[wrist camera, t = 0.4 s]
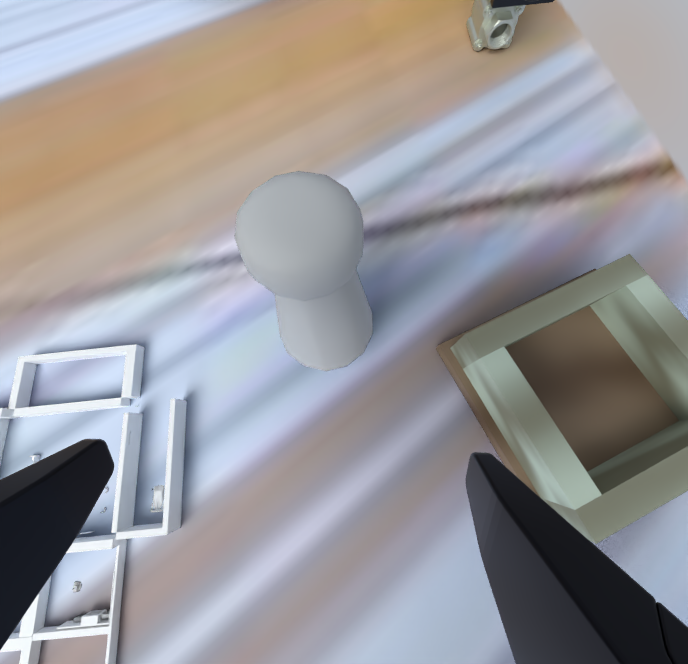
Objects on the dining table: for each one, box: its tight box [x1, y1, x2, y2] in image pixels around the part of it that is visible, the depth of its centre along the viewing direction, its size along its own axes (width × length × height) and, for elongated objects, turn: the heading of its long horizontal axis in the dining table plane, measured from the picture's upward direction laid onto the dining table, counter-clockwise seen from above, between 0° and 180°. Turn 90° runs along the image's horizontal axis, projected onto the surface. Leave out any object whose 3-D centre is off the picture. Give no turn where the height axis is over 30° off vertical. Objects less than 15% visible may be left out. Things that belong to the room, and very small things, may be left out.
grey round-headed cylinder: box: [235, 171, 373, 371], centre depth 16 cm, size 6×6×13 cm
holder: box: [436, 254, 688, 544], centre depth 19 cm, size 12×12×4 cm
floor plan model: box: [0, 344, 187, 664], centre depth 20 cm, size 19×25×2 cm
